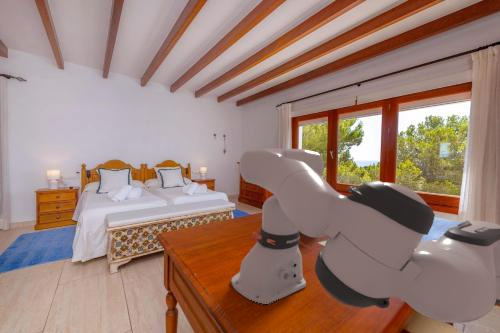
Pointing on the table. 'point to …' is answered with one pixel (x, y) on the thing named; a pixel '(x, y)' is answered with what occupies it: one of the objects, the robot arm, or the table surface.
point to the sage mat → (322, 243)
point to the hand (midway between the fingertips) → (398, 243)
